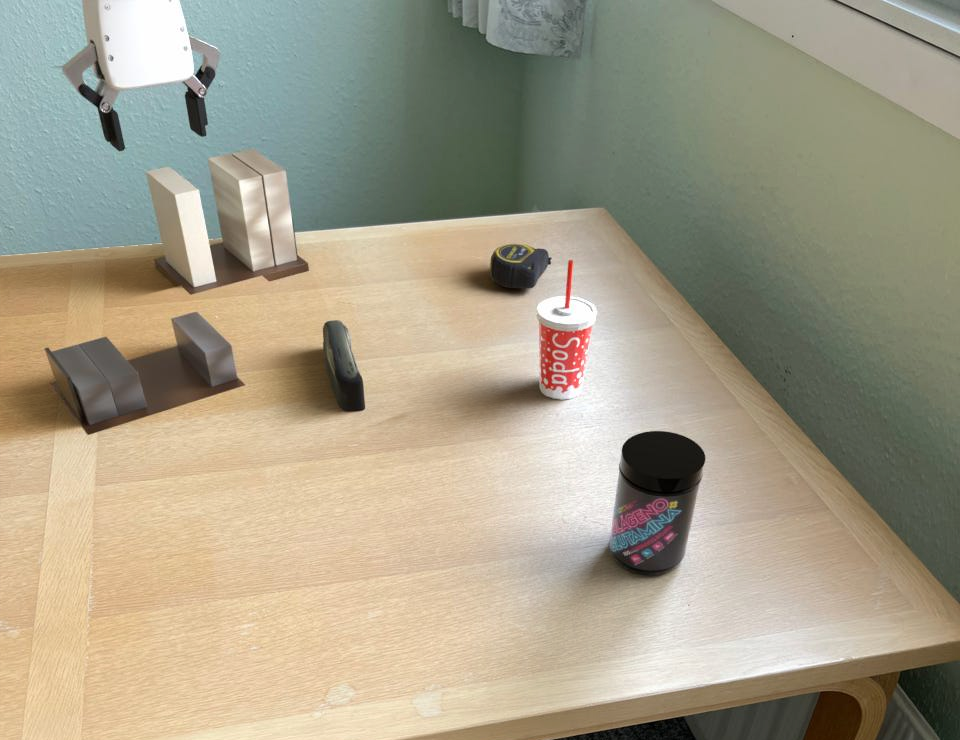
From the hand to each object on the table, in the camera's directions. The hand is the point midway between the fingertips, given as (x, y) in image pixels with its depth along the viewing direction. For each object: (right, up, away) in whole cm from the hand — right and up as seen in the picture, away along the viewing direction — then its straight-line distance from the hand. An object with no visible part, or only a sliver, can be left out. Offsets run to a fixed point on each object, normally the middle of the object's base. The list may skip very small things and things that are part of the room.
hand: (159, 140), depth 109 cm
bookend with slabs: (+5, -9, +14) cm, 17 cm away
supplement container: (+51, -50, -25) cm, 76 cm away
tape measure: (+42, -12, +12) cm, 46 cm away
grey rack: (+2, -31, -7) cm, 32 cm away
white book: (0, -11, +11) cm, 15 cm away
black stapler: (+22, -30, -6) cm, 37 cm away
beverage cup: (+46, -30, -6) cm, 55 cm away
